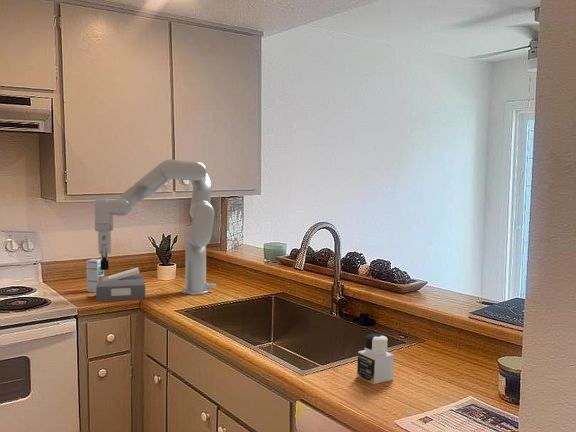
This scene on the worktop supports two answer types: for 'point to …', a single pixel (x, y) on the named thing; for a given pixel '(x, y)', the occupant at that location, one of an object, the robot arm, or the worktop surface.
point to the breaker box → (121, 288)
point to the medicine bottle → (375, 360)
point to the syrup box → (93, 274)
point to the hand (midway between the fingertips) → (104, 269)
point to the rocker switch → (121, 275)
